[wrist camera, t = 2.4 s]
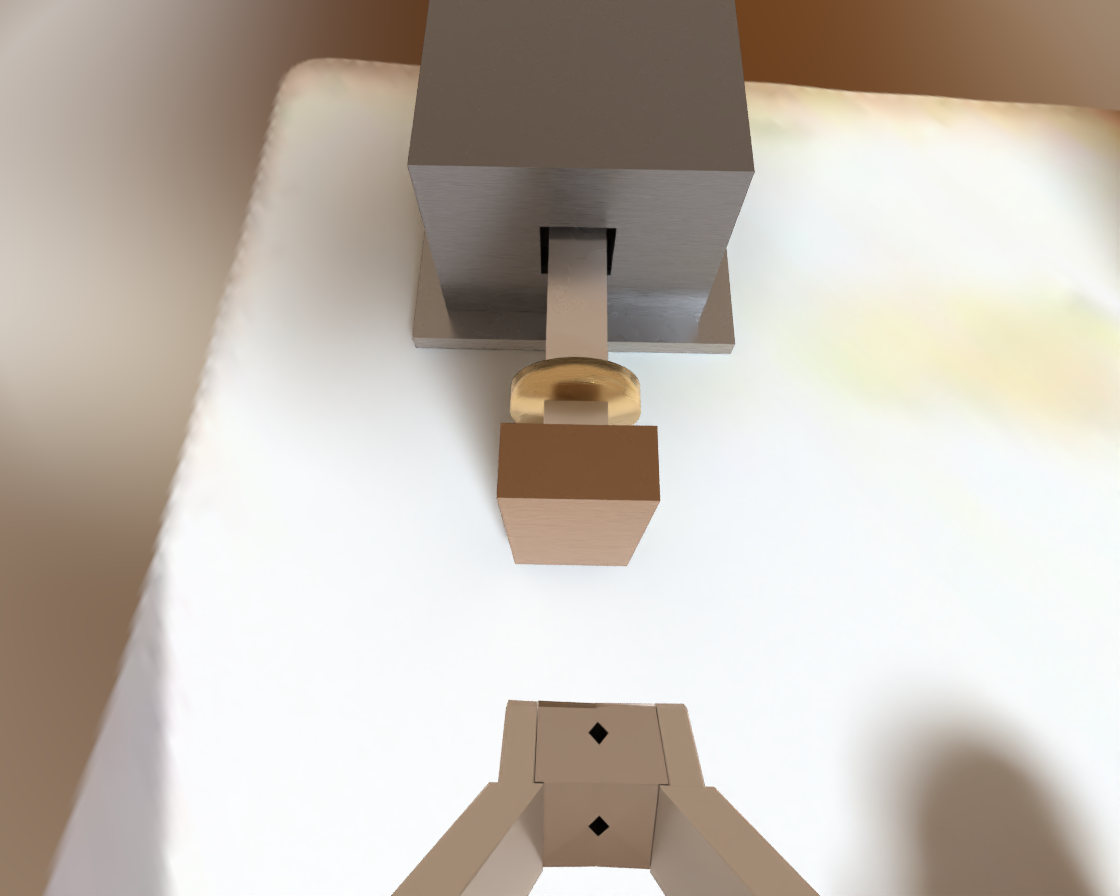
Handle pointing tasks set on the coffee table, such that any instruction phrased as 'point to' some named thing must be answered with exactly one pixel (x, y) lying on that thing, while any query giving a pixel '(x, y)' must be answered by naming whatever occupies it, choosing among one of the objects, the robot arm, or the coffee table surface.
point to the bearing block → (579, 166)
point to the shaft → (576, 428)
